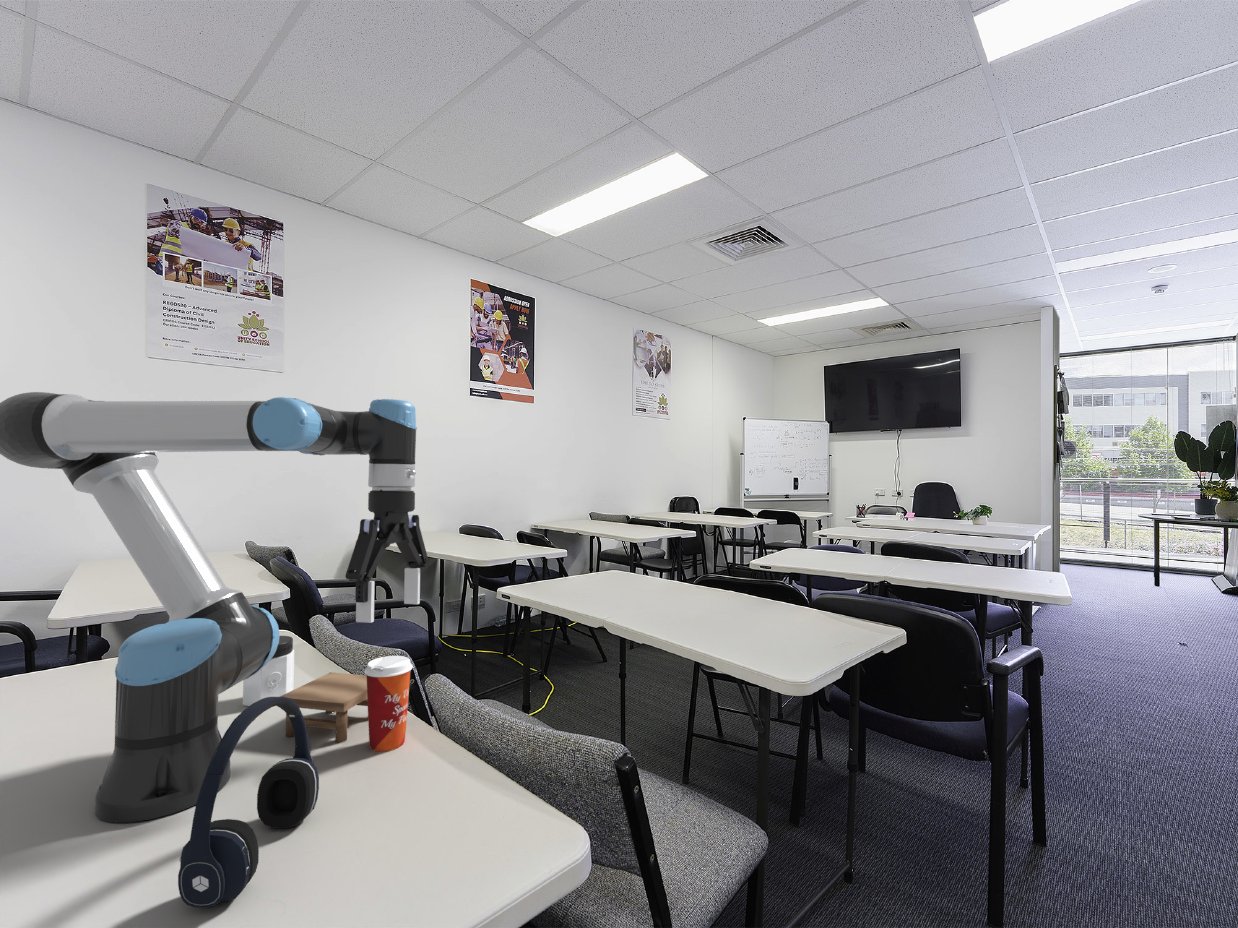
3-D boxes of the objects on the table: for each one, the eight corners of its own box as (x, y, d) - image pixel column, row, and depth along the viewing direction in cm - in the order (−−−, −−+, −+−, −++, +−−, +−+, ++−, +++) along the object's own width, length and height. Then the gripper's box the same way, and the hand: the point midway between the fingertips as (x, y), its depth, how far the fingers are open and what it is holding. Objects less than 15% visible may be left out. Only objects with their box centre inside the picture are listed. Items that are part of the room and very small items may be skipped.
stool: (342, 744, 96) (343, 703, 96) (277, 737, 98) (278, 696, 98) (388, 713, 108) (389, 677, 109) (329, 707, 111) (330, 672, 111)
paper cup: (394, 756, 92) (395, 670, 92) (352, 751, 93) (354, 666, 94) (420, 735, 99) (421, 655, 100) (381, 731, 101) (383, 652, 101)
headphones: (231, 922, 57) (236, 741, 58) (162, 923, 57) (167, 741, 58) (326, 808, 77) (329, 674, 78) (275, 809, 77) (279, 674, 78)
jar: (247, 711, 109) (248, 649, 109) (238, 699, 115) (240, 640, 115) (298, 699, 115) (300, 640, 115) (288, 688, 121) (289, 632, 121)
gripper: (365, 490, 85) (363, 632, 84) (447, 488, 109) (445, 598, 108) (322, 490, 86) (319, 629, 85) (412, 488, 110) (410, 596, 110)
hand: (389, 612), depth 97 cm, fingers open, 13 cm apart
